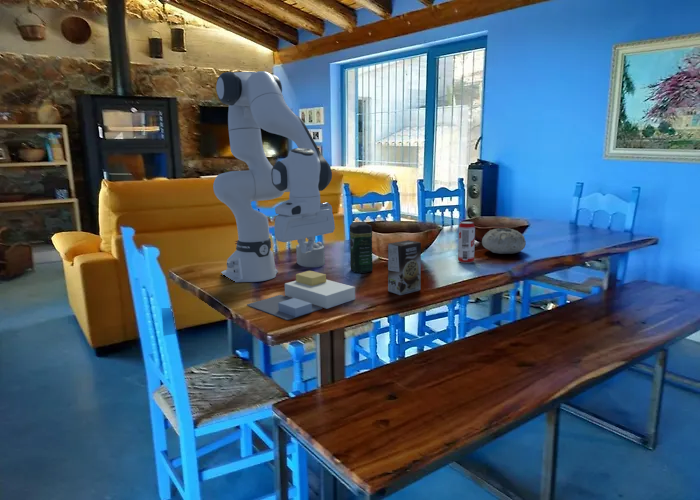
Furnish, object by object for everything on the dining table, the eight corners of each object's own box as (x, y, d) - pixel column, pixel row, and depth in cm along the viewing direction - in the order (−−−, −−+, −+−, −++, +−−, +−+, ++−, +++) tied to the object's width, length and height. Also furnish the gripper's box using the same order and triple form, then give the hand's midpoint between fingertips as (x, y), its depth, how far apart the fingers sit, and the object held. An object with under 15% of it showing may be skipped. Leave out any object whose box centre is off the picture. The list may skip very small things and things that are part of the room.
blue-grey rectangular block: (294, 297, 153) (294, 305, 154) (278, 302, 149) (278, 310, 150) (311, 303, 148) (312, 311, 148) (295, 308, 144) (296, 316, 144)
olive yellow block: (296, 281, 167) (295, 274, 166) (310, 277, 171) (309, 270, 170) (312, 286, 161) (311, 278, 160) (326, 282, 165) (326, 274, 165)
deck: (285, 295, 165) (284, 283, 164) (313, 287, 174) (312, 276, 173) (326, 308, 151) (326, 295, 151) (355, 299, 160) (354, 286, 159)
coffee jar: (375, 272, 191) (374, 223, 187) (354, 274, 189) (353, 224, 185) (368, 266, 200) (367, 219, 196) (348, 268, 198) (347, 220, 194)
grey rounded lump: (530, 257, 208) (532, 233, 206) (486, 258, 209) (487, 234, 207) (517, 247, 226) (519, 225, 224) (477, 248, 226) (478, 226, 224)
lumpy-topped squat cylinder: (318, 258, 215) (317, 238, 213) (329, 265, 203) (328, 244, 201) (294, 261, 211) (293, 241, 209) (304, 268, 199) (303, 247, 197)
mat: (246, 305, 156) (246, 304, 156) (280, 295, 165) (280, 294, 165) (287, 320, 143) (287, 319, 142) (322, 308, 151) (322, 307, 151)
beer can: (457, 263, 201) (458, 223, 198) (458, 259, 207) (459, 220, 203) (473, 264, 199) (474, 223, 196) (474, 260, 205) (475, 221, 202)
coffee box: (400, 295, 162) (400, 246, 159) (387, 291, 167) (387, 243, 164) (421, 290, 167) (421, 242, 164) (408, 286, 172) (408, 239, 169)
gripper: (324, 200, 157) (325, 244, 160) (270, 208, 143) (272, 256, 146) (338, 202, 153) (339, 247, 156) (283, 210, 139) (286, 260, 142)
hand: (306, 252), depth 151 cm, fingers closed
